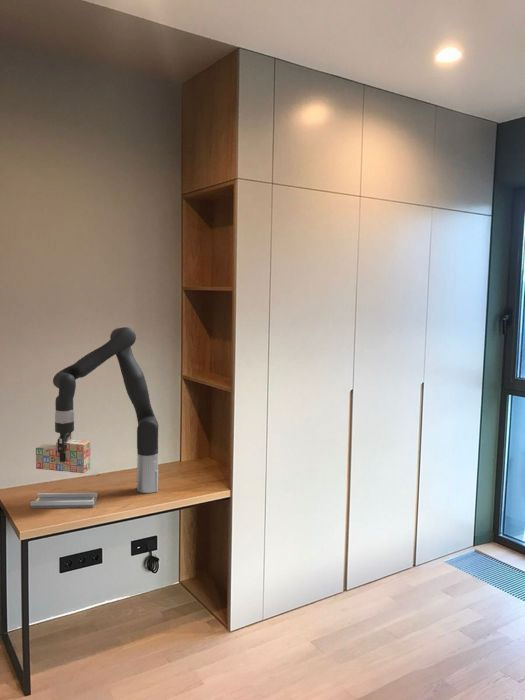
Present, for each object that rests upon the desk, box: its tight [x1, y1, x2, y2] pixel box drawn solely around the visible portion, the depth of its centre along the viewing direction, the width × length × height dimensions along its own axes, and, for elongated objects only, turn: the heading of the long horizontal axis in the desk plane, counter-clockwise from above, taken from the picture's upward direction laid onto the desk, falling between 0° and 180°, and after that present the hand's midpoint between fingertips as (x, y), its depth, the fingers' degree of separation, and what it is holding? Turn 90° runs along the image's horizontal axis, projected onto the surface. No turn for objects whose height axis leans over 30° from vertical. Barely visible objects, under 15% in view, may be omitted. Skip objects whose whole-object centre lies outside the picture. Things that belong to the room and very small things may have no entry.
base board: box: [30, 492, 98, 509], centre depth 238 cm, size 25×10×3 cm, turn 97°
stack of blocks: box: [35, 438, 91, 474], centre depth 236 cm, size 21×6×12 cm, turn 81°
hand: (64, 458), depth 236 cm, fingers closed on stack of blocks, 7 cm apart
